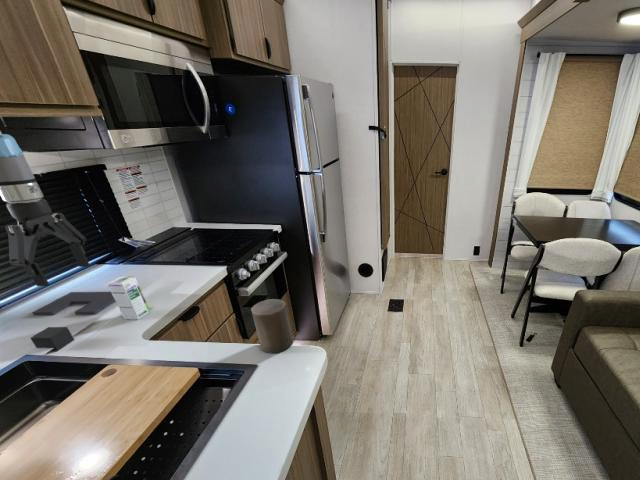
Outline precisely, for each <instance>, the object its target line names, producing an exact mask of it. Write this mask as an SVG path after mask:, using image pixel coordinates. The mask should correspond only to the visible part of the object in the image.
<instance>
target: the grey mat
mask: <svg viewBox="0 0 640 480" xmlns="http://www.w3.org/2000/svg"><path fill="white" fill-rule="evenodd" d="M114 303H116V301H115V299H114V297H113V295H112V293H111V291H71V292H68V293H66V294H64V295H63V296H61V297H59V298H57V299H55V300H53V301H51V302H49V303H48V304H46V305H44V306H41V307H40V308H38V309H36V310H34V311H32V314H33V316H55V315H57V314H58V313H60V312H62V311H64V310H65V309H67V308H69V307H71V306H74V305H83V306H81V307H80V308H78V309H77V310H75V311H74V315H75V316H94V315H97V314H98V313H100V312H102V311H103V310H105V309H107V308H109V307H110V306H111V305H113V304H114Z"/></svg>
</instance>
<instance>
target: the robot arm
mask: <svg viewBox="0 0 640 480" xmlns="http://www.w3.org/2000/svg"><path fill="white" fill-rule="evenodd" d="M44 197H45V195H44V194H43V191H42V190H41V187H40V185H39V184H38V181H37V180H36V176H34V173H33V172H32V169H31V167H30V165H29V163H28V161H27V159H26V157H25V155H24V152H23V149H22V148H20V146H19V144H18V142H17V140H16V139H15V138H14V137H13V135H11V134H7V133H1V134H0V198H1V200H2V201H3V202H4V203H5V202H6V204H5V206H6V208H7V210H8V212H9V214H10V215H11V217H12V218H13V219H15V220H16V222H17V224H12V225H5V226H4V229H5V230H6V233H7V235H8V236H7V237H8V252H9V253H8V254H9V255H8V256H9V264H10V265H12V266H21V267H22V268H23V269H24V271H25V273H26V275H27V276H28V277H31V279H32V280H33V282H34V283H35V285H36V287H48V286H50V283H49V281H48V279H47V278H46V276H45V274H44V271H42V268H41V267H40V265H39V263H38V262H34V259H35V255H36V251H37V246H38V243H39V241H40V240H41V238H45V237H46V236H47V235H53V236H55V237H57V238H58V239H61V240H63V241H64V242H66V243H67V244H69V245H70V246H68V248H69V249H70V251H71V254H72V256H73V258H74V259H75V262H76V263H77V265H78V267H79V268H88V267H91V265H90V263H89V261H88V257H87V256H86V251H85V249H84V246H85V244H86V241H87V238H86V236H84V235H83V234H82V233H81V232H80V231H79V230H78V229H77V228H76V227H75V226H73V225H72V224H71V223H70V222H69V221H68V220H67V218H66V216H65V215H64V214H63V212H60V213H59V212H56V213H55V212H53V211H52V209H51V207H50V205H49V203H48V201H47V199H45V198H44ZM52 212H53V213H52Z"/></svg>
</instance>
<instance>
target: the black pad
mask: <svg viewBox="0 0 640 480" xmlns="http://www.w3.org/2000/svg"><path fill="white" fill-rule="evenodd" d="M30 341H31V342H32V344H33V345H34V347H35V348H36V349H50V350H49V352H59V351H60V350H62V349H64V348H65V347H66V346H68V345H69V344H71V343H72V342H73V341H75V338H74V336H73V334H72V333H71V331H70V328H69V327H68V326H48V327H46V328H44V329H42V330H41V331H39V332H38V333H36V334H35V335H32V336H31V337H30Z"/></svg>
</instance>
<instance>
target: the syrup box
mask: <svg viewBox="0 0 640 480" xmlns="http://www.w3.org/2000/svg"><path fill="white" fill-rule="evenodd" d="M106 285H107V287H108V289H109V292H111V293H112V295H113V297H114V299H115V301H116V302H115V303H116V305H117V307H118V309H119V311H120V313H121V316H122V317H123V319H124V320H140V319H141V318H143V317H144V316H146V315H148V314H149V313H151V310H150V307H149V305H148V303H147V301H146V298H145V296H144V293H143V292H142V290H141V287H140V285H139V283H138V280H137V278H136V277H135V276H130V275H129V276H128V275H127V276H125V275H124V276H123V275H122V276H119V277H118V278H115V279H114V280H112V281H109V282H107V283H106Z"/></svg>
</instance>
